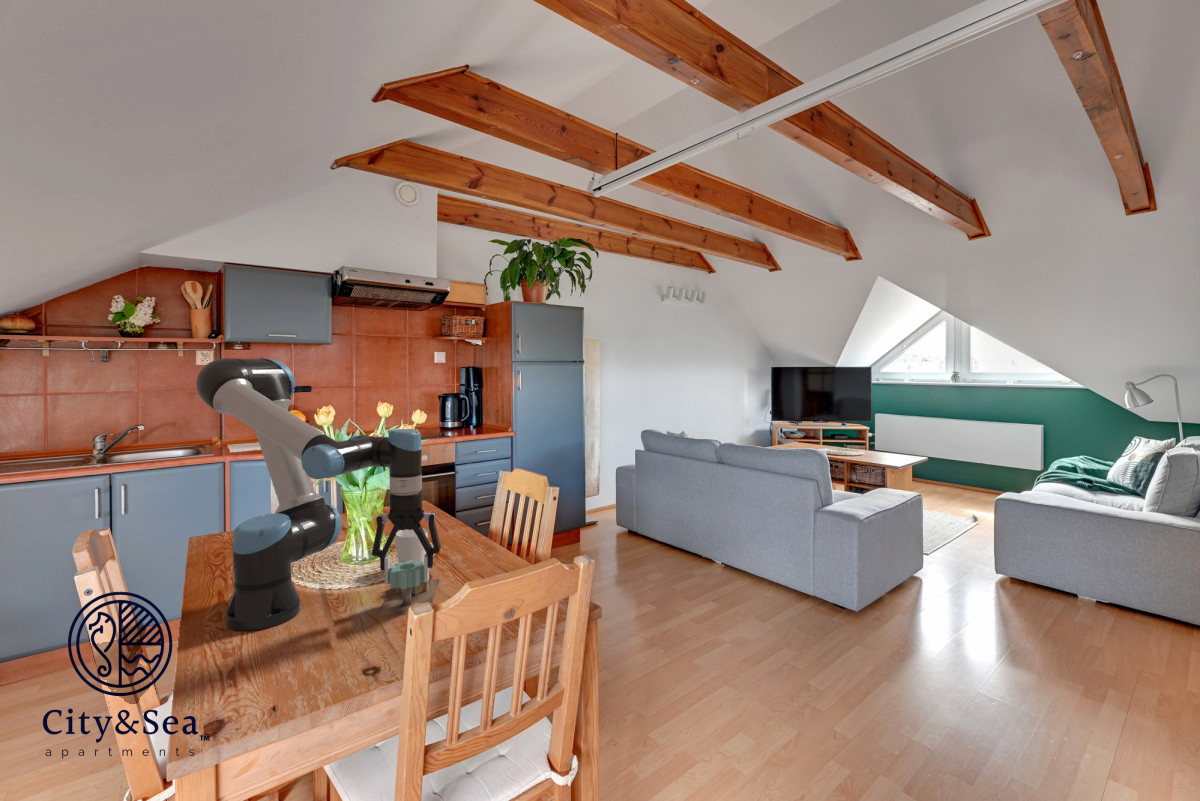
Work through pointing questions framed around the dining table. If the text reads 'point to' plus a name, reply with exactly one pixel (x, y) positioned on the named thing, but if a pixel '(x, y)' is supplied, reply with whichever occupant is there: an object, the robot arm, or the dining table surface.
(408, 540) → the cup
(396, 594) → the gear board
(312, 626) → the dining table surface
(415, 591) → the gear
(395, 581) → the gear
